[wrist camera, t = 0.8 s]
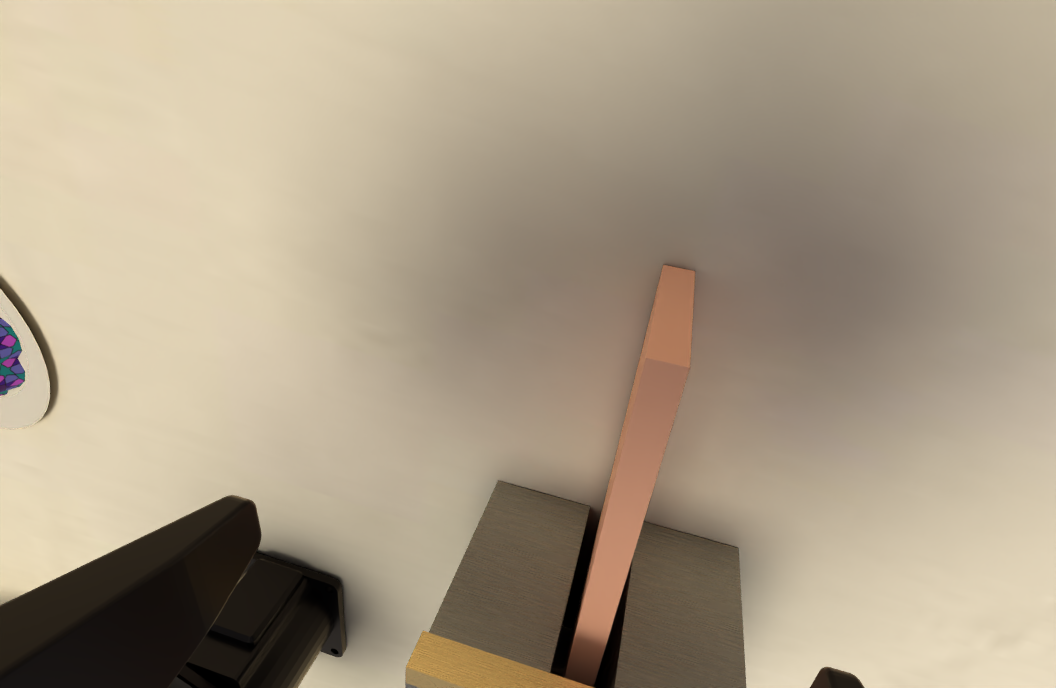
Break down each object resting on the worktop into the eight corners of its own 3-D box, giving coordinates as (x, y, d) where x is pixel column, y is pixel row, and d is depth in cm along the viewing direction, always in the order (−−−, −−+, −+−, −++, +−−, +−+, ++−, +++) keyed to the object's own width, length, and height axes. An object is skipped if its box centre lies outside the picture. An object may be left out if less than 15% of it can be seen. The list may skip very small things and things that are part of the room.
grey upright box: (682, 677, 28) (672, 925, 20) (482, 613, 30) (403, 819, 22) (744, 534, 23) (762, 791, 15) (499, 466, 25) (405, 667, 17)
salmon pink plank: (595, 625, 27) (570, 763, 22) (575, 619, 28) (544, 754, 22) (695, 271, 18) (690, 367, 13) (663, 264, 18) (645, 357, 13)
